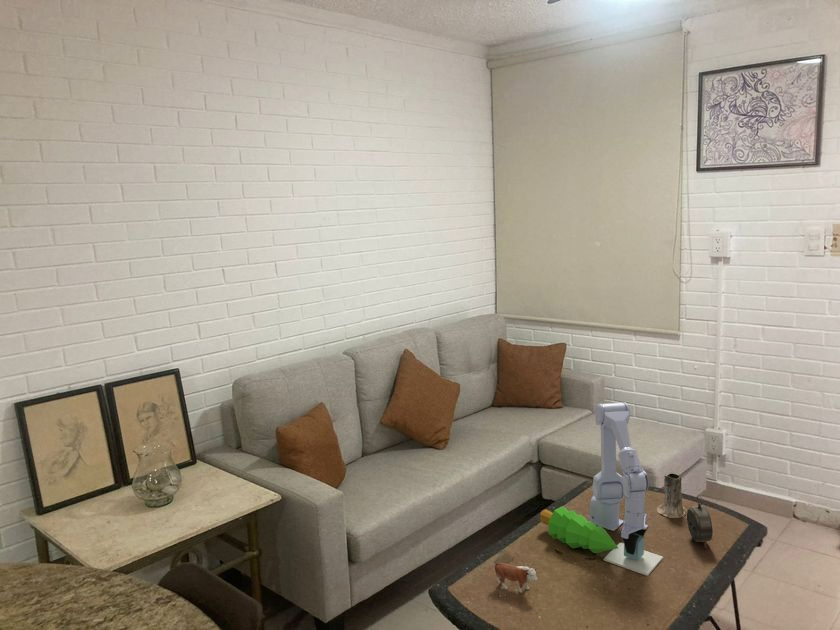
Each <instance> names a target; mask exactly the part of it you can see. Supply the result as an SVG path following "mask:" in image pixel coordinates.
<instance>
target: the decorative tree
mask: <svg viewBox="0 0 840 630" xmlns="http://www.w3.org/2000/svg"><path fill="white" fill-rule="evenodd" d="M539 521H540V522H541V523H542V524H545V525H547V526H548V527H547V528H548V531H547V532H548V535H549V536H551V537H552V538H553V539H554V540H556V539H557V540H559V541H560V542H562V543H563V544H566V545H568V546H569V547H570V548H572V549H577V548H582V549H583V550H586V549H589V550H590V552H592V553H594V554H598V553H601V552H607V551H612V550H613V549H617V548H618V547H617V545H618V544H616V542H615V541H614V540H613V539H612V537H611V536H610V535H609V533H608V532H607V531H606V530H605V528H603V527H601V526H597V525H595V524H594V523H593V522H592V521H590V520H589V521H590V522H589V521H588V519H586V518H585V516H583V515H582V514H581V513H579V514H577V513H576V512H575V511H574V510H573V509H571V510H568V509H567V508H566V507H565V506H564V505H562V506H560V507H558V508H556V509H554V510H553V512H552V511H550V510H548V509H546V508H545V509H543V510H541V512H540V513H539Z"/></svg>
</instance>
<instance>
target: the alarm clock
mask: <svg viewBox="0 0 840 630" xmlns="http://www.w3.org/2000/svg"><path fill="white" fill-rule="evenodd" d="M699 498H700V501H701V503H700V502H699ZM696 501H697V505H693V506H690V507H688V509H687V510H686V511H687V515H686V522H687V529H688V531H689V533H690V537H691V539H690V540H689V542H692V541H693V540H694V541H695V542H697V543H700V542H703V546H704V549H705V550H708V546H707V542H710V541H711V540H712V538H713V533H714V532H713V530H714V529H713V524H712V518H711V514H710V513H709V511H708V509H707V508H706V506H704V505H703V498H702V496H701V495H700V494H698V495H697V497H696Z"/></svg>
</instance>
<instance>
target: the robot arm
mask: <svg viewBox="0 0 840 630" xmlns="http://www.w3.org/2000/svg"><path fill="white" fill-rule="evenodd" d="M594 413H595V414H594V416H595V425H597V426H599V428H600V451H601V455H600V457H601V458H600V463H601V470H600V471H599V472H598V473H596V474H595V475H594V476H593V479H592V480H593V482H592V487H591V489H592V494H593V496H592V497H591V499H590V502H589V521H588V522H590V521H592V522H593V523H594V524H595V525H596V526H597V527H598V526H601V527H602V528H603V529H606V530H610V531H613V532H614V531H616V530H617V529H618V528H619V527H620V526H621V525H622V524H623V525H622V529H621V530H620V531H619V536H620V537H621V539H622V540H623V543H624V544H625V548H626V552H627V553H629V554H632V555H633V554H634V552H635V547H636V542H637V540H638V538H639V536H638V535H641V536H644V537H645V534H646V532H647V531H648V529H649V525H648V524H646V521H647V520H648V514H647V513H645V508H646V507H645V505H646V504H645V503H646V498H645V497H646V491H648V490H649V485H650V484H649V477H648V475H647V472H646V471H645V469H644V468H643V467H642V465H641V462H640V460H639V456H638V455H639V454H638V452H637V450H635V449H634V448H632V444H631V438H630V435H629V434H630V433H629V429H628V424H629V423H630V417H631V409H630V407H629V405H628V403H627V402H625V401H623V402H611V403H598V404H597V405H596V407H595V410H594ZM617 446H618V449H619V452H618V453H617ZM617 456H618V459H619V460H618V461H619V463H620V468H621V471H622V474H623V475H621V474H620V473H618V472H617ZM622 499H624V520H622V519H620V502H622ZM634 533H635V534H638V535H635V534H634Z"/></svg>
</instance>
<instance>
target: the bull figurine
mask: <svg viewBox="0 0 840 630" xmlns="http://www.w3.org/2000/svg"><path fill="white" fill-rule="evenodd" d="M536 570H537V567H535V568H532V567H531V568H530V567H528V566H521V565H519V566H518V565H513V564H509V563H504V562H497V563H495V565H494V572H495V574H496V579H497V582H498V584H502V589H504V590H507V591H508V590H509V587H508V586H507V585H506V583H505V579H507V580H509V581H510V582H511V583H513V582H517V583H518V585H519V588H518V592H519V594H523V593H524V592H523V590H522V588H523V586H524V589H526V590H527V591H530V587H529V585H528V584H529V583H530V582H532V581H533V582H537V581H538V577H537V572H536Z"/></svg>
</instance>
